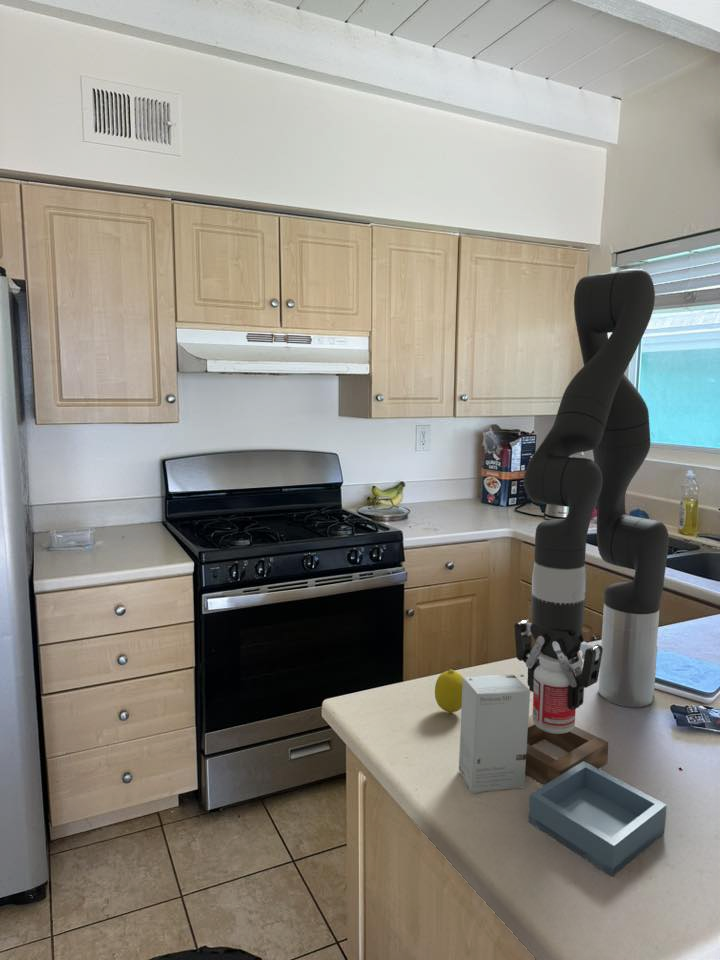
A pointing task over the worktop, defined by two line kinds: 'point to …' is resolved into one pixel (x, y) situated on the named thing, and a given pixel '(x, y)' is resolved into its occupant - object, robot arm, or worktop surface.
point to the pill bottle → (551, 697)
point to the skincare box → (493, 732)
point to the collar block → (574, 742)
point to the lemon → (449, 691)
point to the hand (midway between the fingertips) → (554, 698)
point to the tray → (597, 816)
